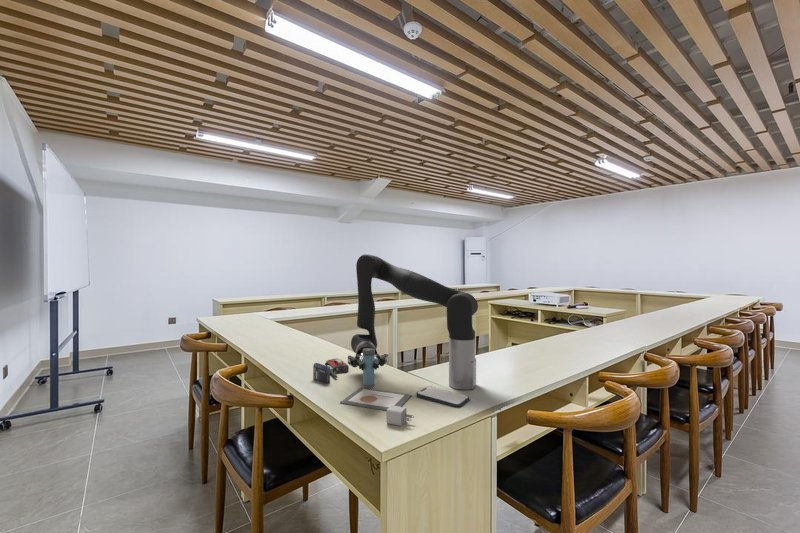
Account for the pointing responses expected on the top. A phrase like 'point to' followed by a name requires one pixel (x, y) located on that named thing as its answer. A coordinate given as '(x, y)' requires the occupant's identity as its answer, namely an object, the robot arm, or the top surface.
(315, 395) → the top surface
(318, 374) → the mini dv tape
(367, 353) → the bottle
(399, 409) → the usb wall charger
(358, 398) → the grey picture frame
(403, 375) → the top surface
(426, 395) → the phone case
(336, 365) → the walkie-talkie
